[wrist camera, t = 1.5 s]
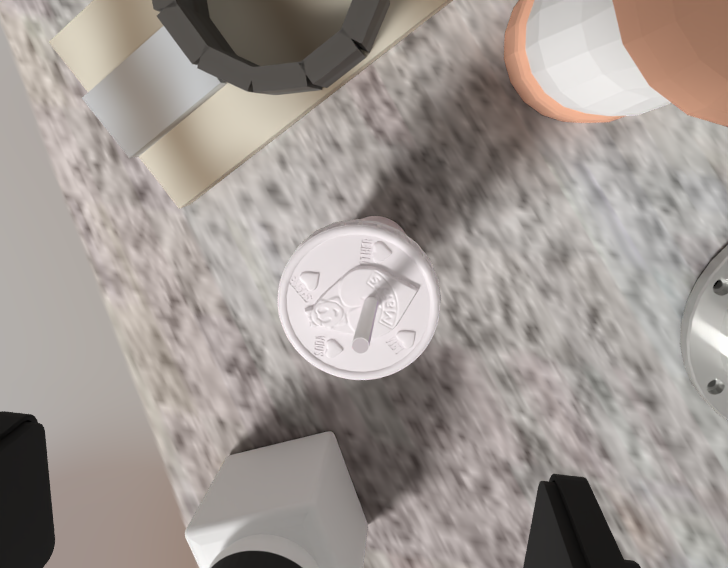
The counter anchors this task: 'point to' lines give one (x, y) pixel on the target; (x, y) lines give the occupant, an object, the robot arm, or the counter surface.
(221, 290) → the counter surface
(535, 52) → the pepper shaker
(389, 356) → the smoothie
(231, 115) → the socket rail
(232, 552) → the medicine bottle
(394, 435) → the counter surface
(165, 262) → the counter surface
